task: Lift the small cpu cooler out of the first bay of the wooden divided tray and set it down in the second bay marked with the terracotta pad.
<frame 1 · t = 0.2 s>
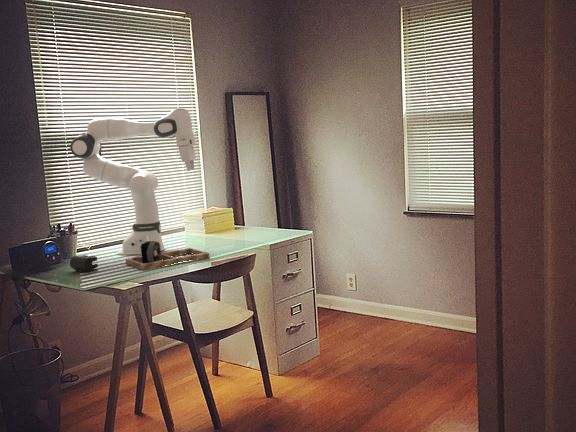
hand: (191, 170, 301), 39 cm above the table, tool pointing down, fingers open, 8 cm apart
end cap: (84, 271, 266), on the table
cpu cooler: (152, 264, 273), resting in wooden divided tray
wooden divided tray: (167, 261, 277), on the table
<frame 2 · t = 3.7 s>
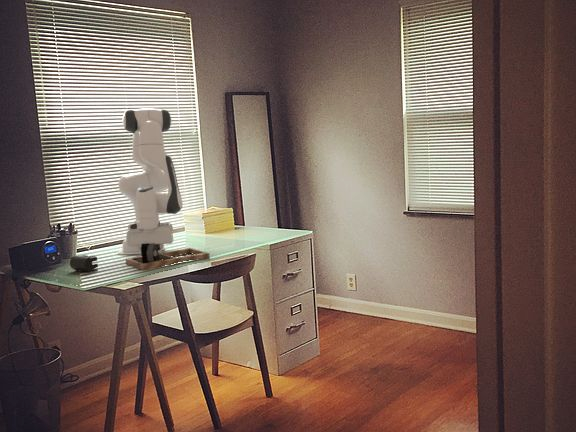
hand: (151, 254, 273), 4 cm above the table, tool pointing down, fingers open, 6 cm apart
cpu cooler: (152, 264, 273), resting in wooden divided tray, touching gripper
everything else where it was.
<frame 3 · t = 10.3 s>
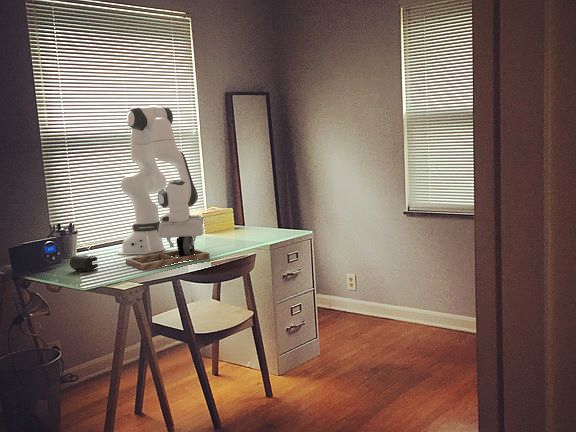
hand: (182, 246, 281), 6 cm above the table, tool pointing down, fingers open, 8 cm apart
cpu cooler: (187, 257, 282), resting on wooden divided tray, touching gripper
everything else where it was.
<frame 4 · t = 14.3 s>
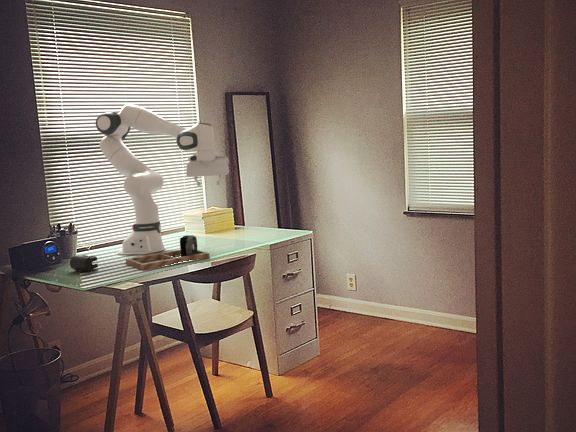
hand: (208, 185, 297), 31 cm above the table, tool pointing down, fingers open, 8 cm apart
cpu cooler: (189, 258, 282), resting on wooden divided tray
everything else where it was.
at the end: cpu cooler inside the target area (2.8 cm from its centre), resting on wooden divided tray; cpu cooler tilted 0°; the gripper is holding nothing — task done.
